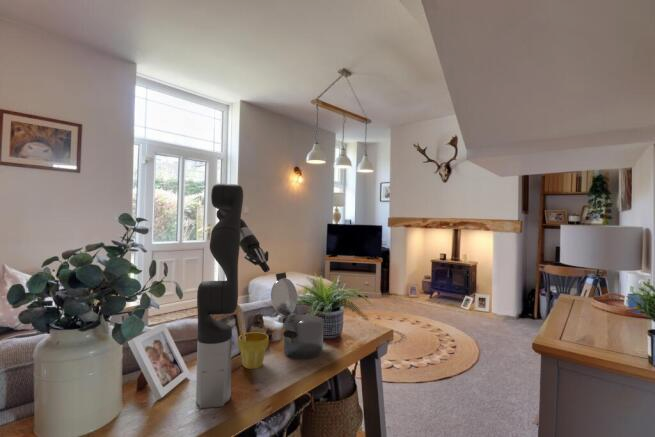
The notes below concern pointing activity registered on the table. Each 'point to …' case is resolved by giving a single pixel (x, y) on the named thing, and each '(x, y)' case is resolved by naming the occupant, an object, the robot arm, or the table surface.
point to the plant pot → (253, 349)
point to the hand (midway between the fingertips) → (267, 271)
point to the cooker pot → (302, 336)
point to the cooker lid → (283, 295)
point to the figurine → (258, 324)
